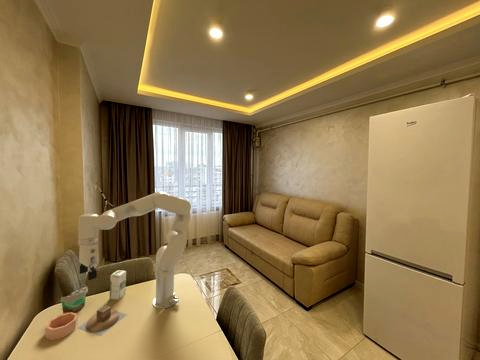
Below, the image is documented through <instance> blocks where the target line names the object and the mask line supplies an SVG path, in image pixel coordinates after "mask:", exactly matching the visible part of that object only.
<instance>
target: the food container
mask: <svg viewBox="0 0 480 360" xmlns="http://www.w3.org/2000/svg"><path fill="white" fill-rule="evenodd" d="M88 292H89V289H88V286H87V285H86V284H83V286H81V287H80V288H78V289H76V290H73V291H72V292H70V293H69V294H68V295H66V296H61V297H60V301H59V302H61V309H62V314H66V313H70V312H72V313H78V312H79V311H81V310H82V309H83V308H85V306H86V297H87V293H88Z"/></svg>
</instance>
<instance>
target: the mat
mask: <svg viewBox="0 0 480 360" xmlns="http://www.w3.org/2000/svg"><path fill="white" fill-rule="evenodd" d="M118 312H119V319H118V321H117V322H116V323H115V324H113V325H112V326H111V327H109V328H107V329H104V330H101V331H89V330H88V329H87V322H88V320H86V321H85V322H84V323H82V324H81V325H79V326H78V327H77V329H79V330H82V331H85V332H88V333H91V334H94V335H97V336H100V337H101V336H103V335H104V334H105V333H106V332H108V331H109V330H110V329H111V328H113V327H114V326H115V325H116V324H118V323H119V322H120V321H121V320H122V319H123V318H125V316H127V315H128V314H127V313H124V312H120V311H118Z"/></svg>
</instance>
